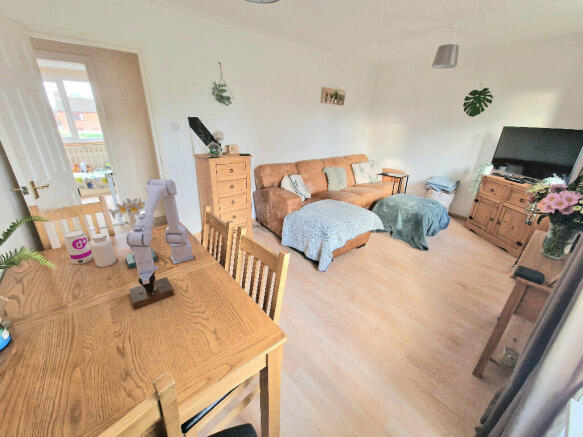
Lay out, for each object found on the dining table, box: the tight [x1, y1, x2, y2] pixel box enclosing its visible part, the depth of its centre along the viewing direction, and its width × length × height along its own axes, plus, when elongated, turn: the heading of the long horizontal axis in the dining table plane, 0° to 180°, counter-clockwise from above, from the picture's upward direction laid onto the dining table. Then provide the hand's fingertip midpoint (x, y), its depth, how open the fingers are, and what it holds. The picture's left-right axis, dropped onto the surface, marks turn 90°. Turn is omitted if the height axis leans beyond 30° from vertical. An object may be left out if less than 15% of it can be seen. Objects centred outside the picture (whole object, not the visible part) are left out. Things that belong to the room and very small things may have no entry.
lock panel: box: [128, 276, 175, 310], centre depth 97 cm, size 14×10×3 cm
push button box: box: [125, 248, 158, 270], centre depth 119 cm, size 12×10×4 cm
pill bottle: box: [89, 232, 117, 268], centre depth 114 cm, size 8×8×15 cm
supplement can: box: [62, 229, 94, 265], centre depth 115 cm, size 8×8×15 cm
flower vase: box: [106, 197, 146, 236], centre depth 133 cm, size 13×18×25 cm
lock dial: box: [144, 278, 157, 292], centre depth 96 cm, size 4×4×4 cm
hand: (150, 288), depth 96 cm, fingers closed on lock dial, 4 cm apart
